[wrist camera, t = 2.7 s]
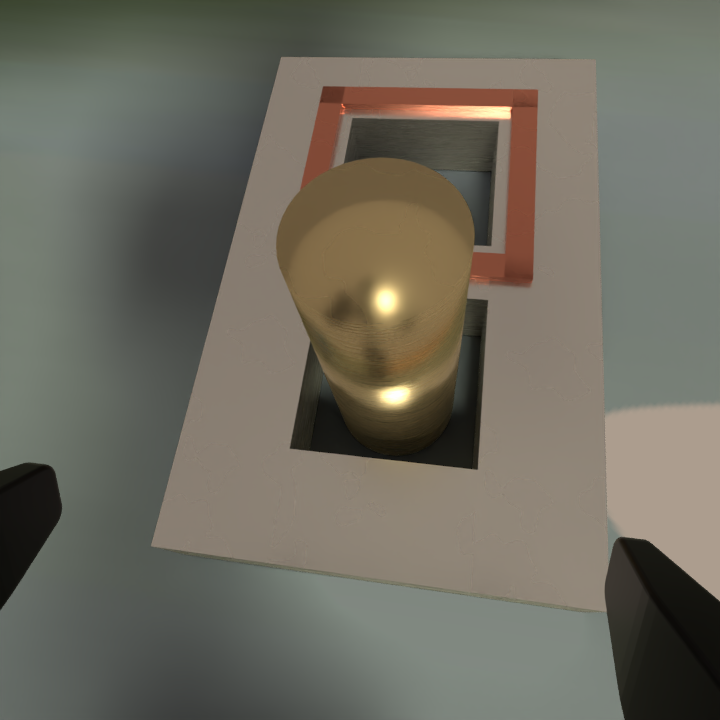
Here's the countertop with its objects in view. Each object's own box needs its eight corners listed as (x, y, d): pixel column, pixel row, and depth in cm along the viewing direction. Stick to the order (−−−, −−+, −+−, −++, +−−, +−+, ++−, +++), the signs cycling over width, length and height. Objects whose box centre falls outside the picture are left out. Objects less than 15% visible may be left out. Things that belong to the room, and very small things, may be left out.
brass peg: (475, 392, 23) (515, 218, 13) (404, 479, 22) (386, 363, 12) (389, 330, 24) (363, 129, 14) (318, 408, 23) (236, 251, 13)
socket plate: (583, 612, 19) (612, 611, 16) (186, 554, 21) (146, 545, 18) (578, 114, 28) (597, 53, 25) (294, 108, 30) (280, 51, 27)
